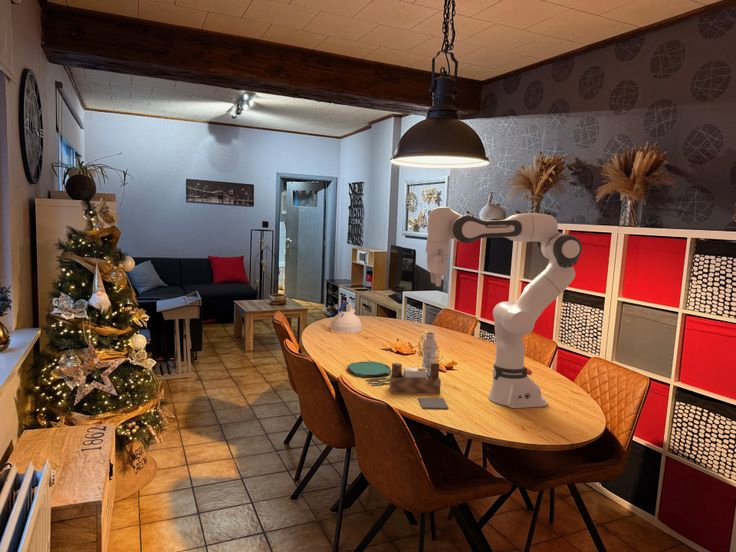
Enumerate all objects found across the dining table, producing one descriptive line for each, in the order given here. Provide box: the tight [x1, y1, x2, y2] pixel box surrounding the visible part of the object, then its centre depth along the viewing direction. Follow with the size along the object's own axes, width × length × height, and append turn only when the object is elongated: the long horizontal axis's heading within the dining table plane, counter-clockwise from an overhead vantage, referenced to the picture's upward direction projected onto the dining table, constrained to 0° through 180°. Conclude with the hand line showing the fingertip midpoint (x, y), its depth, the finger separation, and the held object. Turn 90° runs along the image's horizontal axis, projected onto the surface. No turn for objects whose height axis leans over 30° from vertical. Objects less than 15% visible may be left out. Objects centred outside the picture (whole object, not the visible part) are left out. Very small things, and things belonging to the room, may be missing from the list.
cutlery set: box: [346, 360, 392, 387], centre depth 228 cm, size 20×30×2 cm, turn 21°
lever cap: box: [403, 366, 427, 378], centre depth 208 cm, size 9×4×4 cm, turn 93°
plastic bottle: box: [421, 332, 438, 374], centre depth 227 cm, size 6×7×20 cm
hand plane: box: [389, 361, 442, 395], centre depth 208 cm, size 20×7×12 cm, turn 93°
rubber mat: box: [417, 397, 450, 410], centre depth 194 cm, size 10×10×1 cm
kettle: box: [329, 301, 363, 334], centre depth 314 cm, size 20×21×18 cm
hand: (435, 284), depth 196 cm, fingers open, 8 cm apart
